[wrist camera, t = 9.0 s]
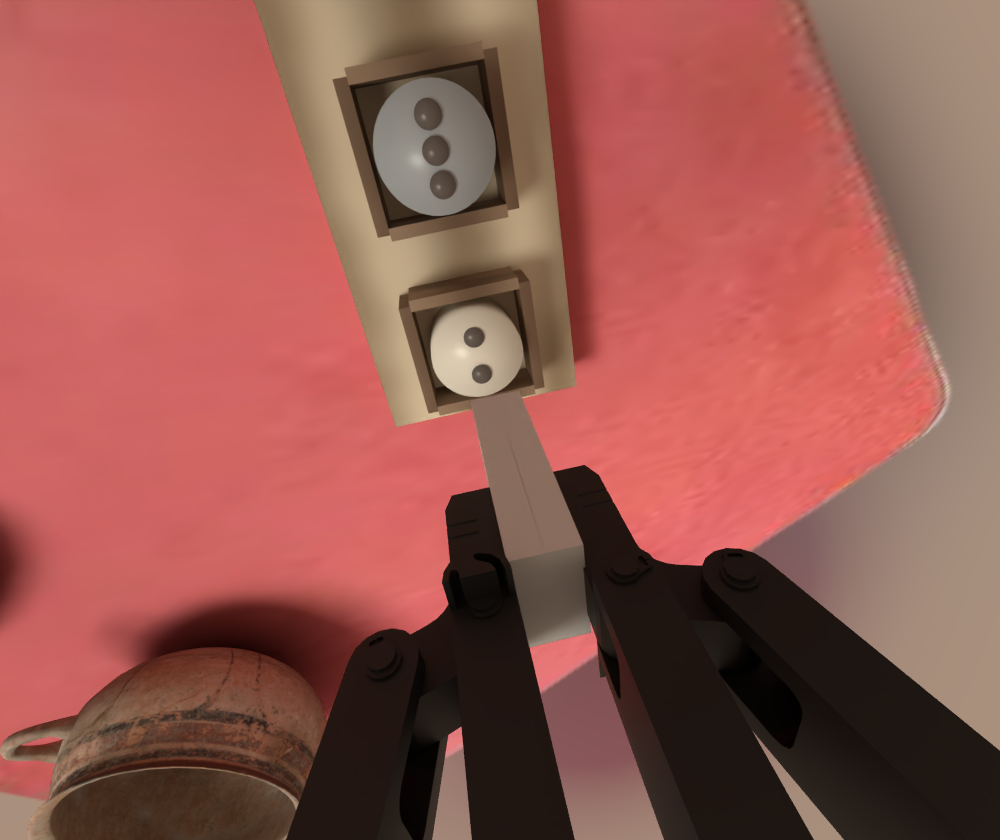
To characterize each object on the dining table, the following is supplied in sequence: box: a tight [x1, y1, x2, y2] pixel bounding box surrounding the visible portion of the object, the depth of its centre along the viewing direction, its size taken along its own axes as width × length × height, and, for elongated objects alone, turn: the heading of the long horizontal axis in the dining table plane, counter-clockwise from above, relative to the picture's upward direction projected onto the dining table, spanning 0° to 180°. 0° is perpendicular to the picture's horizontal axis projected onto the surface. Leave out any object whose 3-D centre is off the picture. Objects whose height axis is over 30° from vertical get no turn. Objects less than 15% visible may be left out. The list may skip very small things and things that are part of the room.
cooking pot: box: [0, 647, 327, 840], centre depth 41 cm, size 25×19×12 cm
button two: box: [430, 296, 523, 397], centre depth 28 cm, size 5×5×3 cm
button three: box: [373, 77, 496, 216], centre depth 22 cm, size 5×5×3 cm
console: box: [254, 0, 576, 427], centre depth 25 cm, size 12×30×6 cm, turn 10°
